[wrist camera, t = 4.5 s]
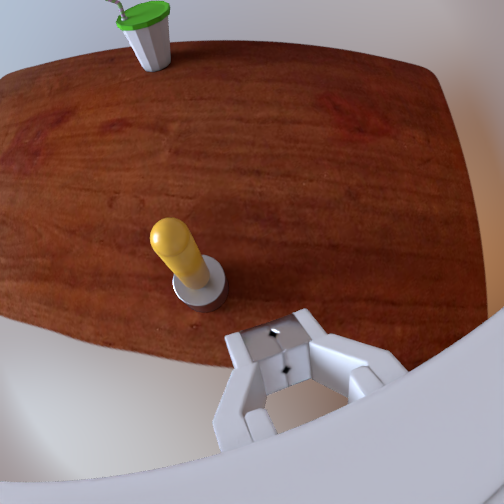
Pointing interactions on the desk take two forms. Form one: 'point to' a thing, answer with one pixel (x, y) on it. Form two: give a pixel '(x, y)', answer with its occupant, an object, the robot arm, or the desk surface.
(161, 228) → the yellow lever knob
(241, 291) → the desk surface
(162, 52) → the cup
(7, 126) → the desk surface
